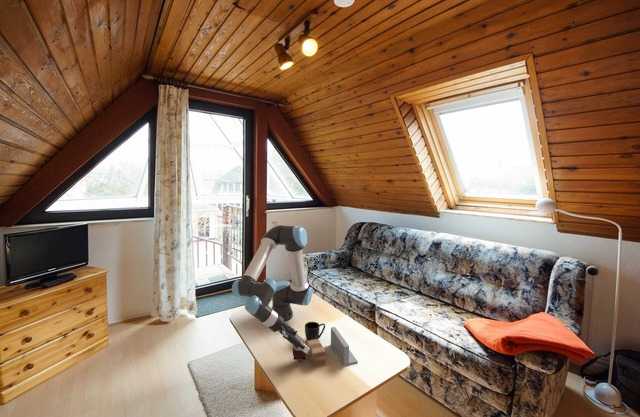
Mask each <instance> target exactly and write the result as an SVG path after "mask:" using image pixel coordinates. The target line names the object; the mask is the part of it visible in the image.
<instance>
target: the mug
mask: <svg viewBox="0 0 640 417" xmlns="http://www.w3.org/2000/svg"><path fill="white" fill-rule="evenodd" d="M321 326H323V327H322V329H321V332H320V327H321ZM325 328H326V324H325V323H318V322H316V321H308V322H306V323H305V324H304V334H305V338H306V339H305V340H306V342H307V341H308V340H314V339H319V340H320V338H321V336H322V335H323V333H324V331H325Z"/></svg>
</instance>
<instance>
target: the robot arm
mask: <svg viewBox="0 0 640 417" xmlns="http://www.w3.org/2000/svg"><path fill="white" fill-rule="evenodd" d="M307 244H308V232H307V230H306V229H305V228H304V227H303V226H299V225H276V226H274V227H272V228H270V229H269V230H268V231H267V232H266V233H265V234H264V235H263V236H262V237H261V240H260V245H259V248H257V250H256V252H255V254H254V256H253V258H252V260H251V261H250V262H249V265H248V267H247V269H246V270H245V272H244V274H243V275H242V277H241V279H236V280H235V281H233V282H232V286H231V291H232V294H234V296H235V295H236V296H239V297H248V300H247V301H246V302H245V305H244V309H245V311H246V312H247V313H248V314H249V315H251V316H252V317H254V318H255V319H256V320H258V321H259V322H260V323H261V324H262V325H264V326H266V327H267V328H268V329H270V331H271V332H272V333H276V332H279V333H280V334H281V335H282V338H283V339H285V340H287V341H288V342H289V343H290V344H291V345H292V346H293V345H294V346H295V347H296V348H300V349H301V350H302V351H304V352H305V353H307V352H308V351H309V350H310V348H309V347H307V344H306V343H307V339H305V338H304V337H303V336H302V335H300V334H299V333H298V331H297V330H295V328H293V327H292V326H290V325H289V324H288V323H286V322H287V321H291V319H292V318H293V317H294V313H293V309H292V306H291V304H292V305H297V306H308V305H309V304H310V303H311V300H312V297H313V287H311V286H310V285H309V282H308V281H307V277H306V272H305V270H306V269H305V262H304V253H303V252H304V251H303V250H304V249H305V247H306V245H307ZM279 245H281V246H284V248H285V251H286V252H288V259H289V267H290V275H291V282H290V281H289V280H281V281H280V280H279V281H275V280H273V279H272V278H266V279H264V280H263V282H257V281H258V279H259V278H260V275H261V274H262V271H263V269H264V267H265V265H266V264H267V262H268V259H269V258H270V256H271V254H272V252H273V250H275V249H276V248H277V246H279ZM271 301H272V306H271V307H270V306H269V305H270V303H271ZM301 341H302V342H304V343H305V344H306V345H305V344H304V343H302V342H301Z"/></svg>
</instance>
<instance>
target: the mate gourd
mask: <svg viewBox="0 0 640 417" xmlns="http://www.w3.org/2000/svg"><path fill="white" fill-rule="evenodd" d="M301 342H302V341H301ZM302 343H304V342H302ZM304 344H305V345H306V346H307V343H306V342H305V343H304ZM307 355H308V354H307V353H305V352H304V351H302V350H301V349H300V348H296V347H295V346H294V345H292V356H293V360H295V361H297V360H298V364H300V363H301V360H303V361H304V360H306V359H307V358H306V357H307Z"/></svg>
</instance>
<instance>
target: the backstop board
mask: <svg viewBox="0 0 640 417" xmlns="http://www.w3.org/2000/svg"><path fill="white" fill-rule="evenodd" d="M330 346H331V347H332V349H333V351H334V352H335V353H336V354H335V355H337V356H338V359H339V360H340V362H341V363H342V364H343V366H344V367H347V366H350V365H356V364H358V360H357V358H356V357H355V355H354V354H353V353H352V352H351V350H350V345H349V344H348V343H347V341H346V340H345V338H344V337H343V336H342V334H341V333H340V332H339V330H338V329H337V327H336V326H332V327H330Z"/></svg>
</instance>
